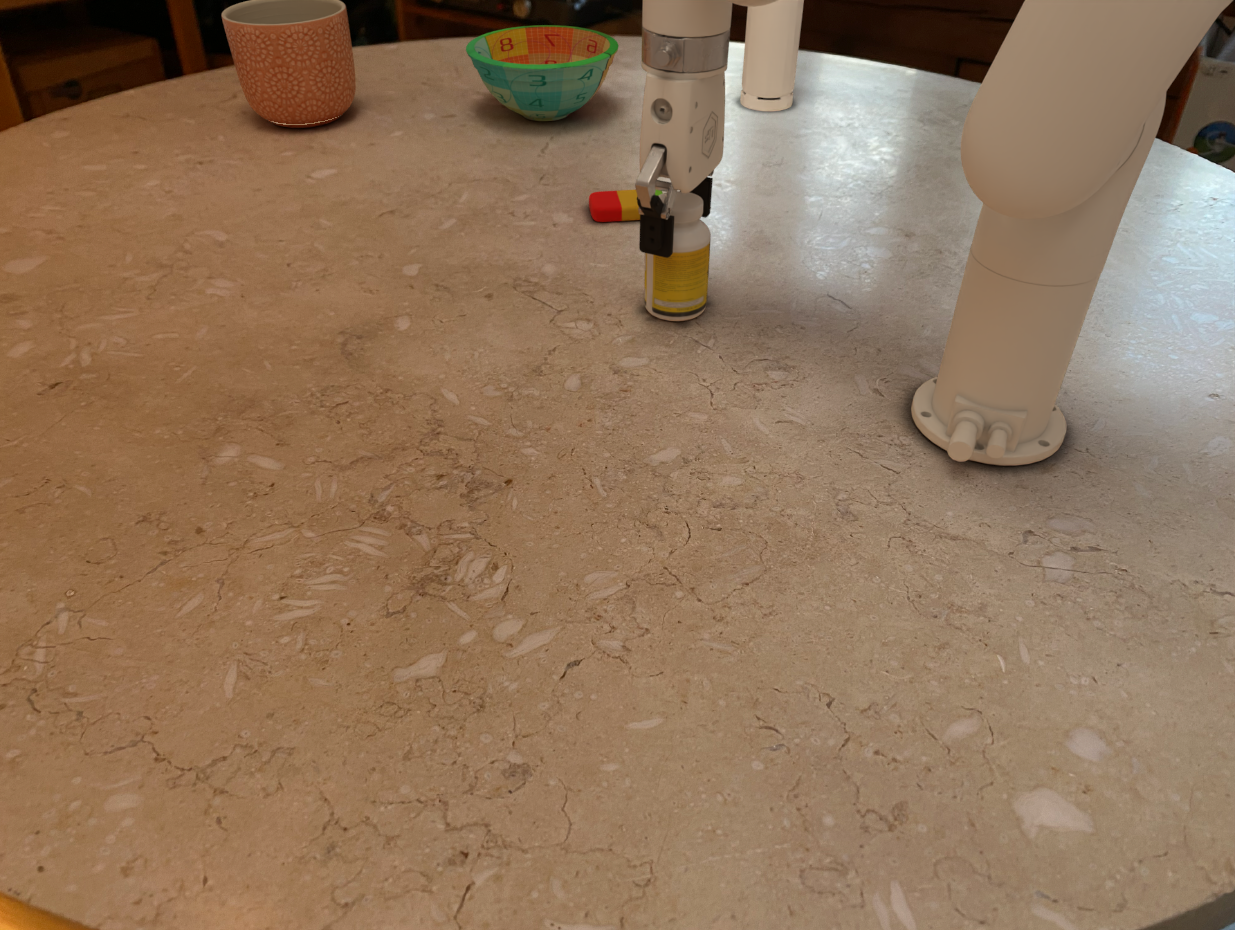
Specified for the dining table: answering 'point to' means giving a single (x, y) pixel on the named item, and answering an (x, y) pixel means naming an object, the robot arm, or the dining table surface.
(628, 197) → the popsicle
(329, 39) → the planter
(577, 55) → the bowl
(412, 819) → the dining table surface
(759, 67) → the bottle
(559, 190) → the dining table surface
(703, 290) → the pill bottle
